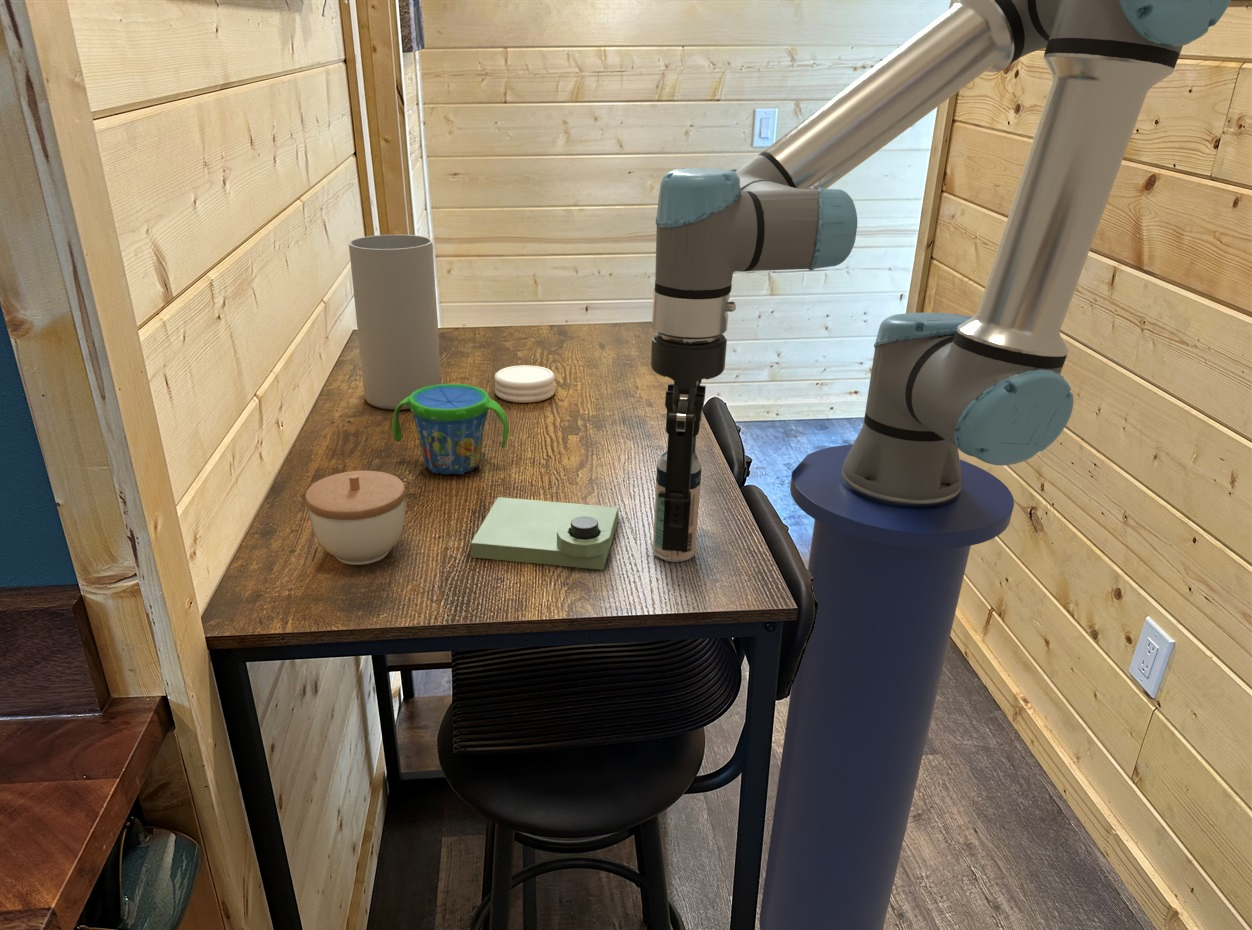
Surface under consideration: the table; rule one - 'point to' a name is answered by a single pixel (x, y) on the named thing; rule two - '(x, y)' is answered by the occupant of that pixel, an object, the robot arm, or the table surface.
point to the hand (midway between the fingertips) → (676, 537)
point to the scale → (544, 533)
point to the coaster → (524, 383)
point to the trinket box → (357, 514)
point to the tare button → (584, 528)
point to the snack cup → (450, 425)
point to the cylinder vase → (395, 316)
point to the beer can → (659, 511)
